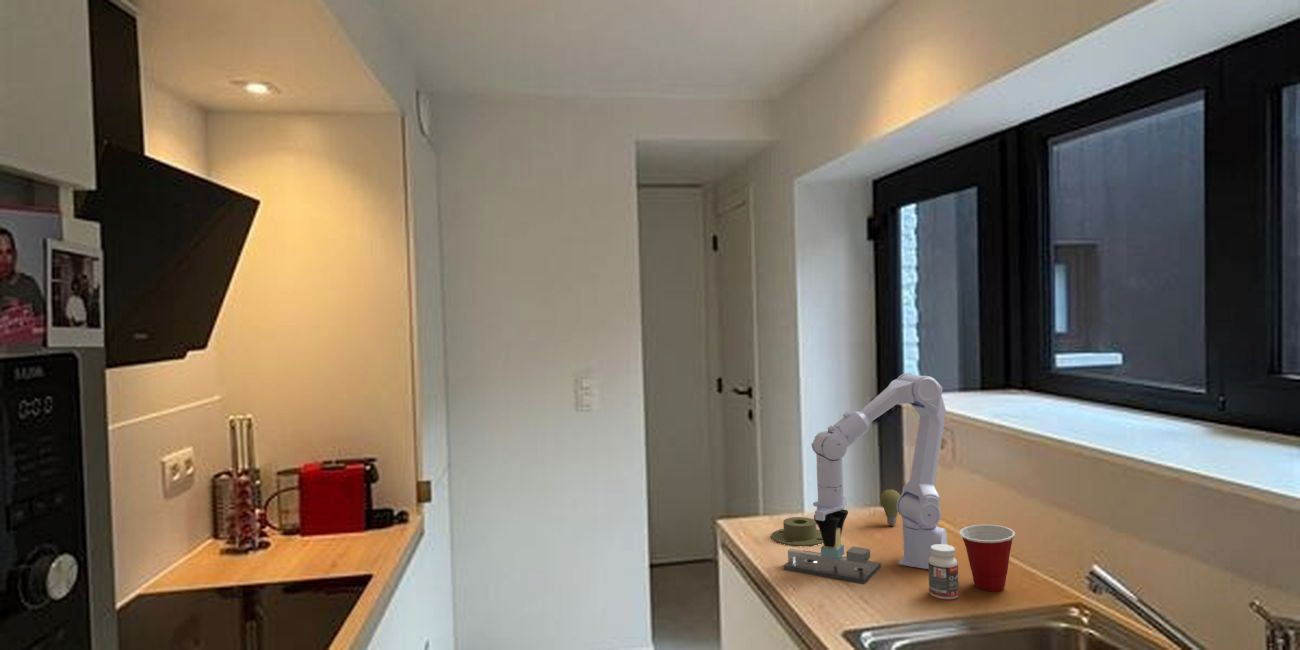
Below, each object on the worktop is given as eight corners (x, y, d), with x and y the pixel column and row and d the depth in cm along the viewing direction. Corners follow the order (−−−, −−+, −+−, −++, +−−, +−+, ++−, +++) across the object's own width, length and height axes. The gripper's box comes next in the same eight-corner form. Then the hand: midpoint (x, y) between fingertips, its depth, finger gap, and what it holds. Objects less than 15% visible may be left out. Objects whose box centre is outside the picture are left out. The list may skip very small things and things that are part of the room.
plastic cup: (951, 579, 159) (949, 524, 159) (998, 575, 160) (997, 521, 159) (977, 598, 148) (975, 539, 148) (1027, 594, 149) (1026, 536, 149)
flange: (760, 524, 191) (811, 533, 181) (788, 510, 202) (838, 519, 192) (760, 541, 191) (812, 552, 181) (789, 527, 202) (839, 536, 193)
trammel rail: (872, 571, 163) (872, 549, 163) (867, 576, 159) (866, 554, 159) (793, 557, 173) (792, 537, 173) (786, 562, 170) (786, 541, 170)
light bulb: (882, 528, 197) (881, 492, 196) (879, 522, 202) (878, 487, 202) (904, 528, 196) (903, 492, 195) (900, 522, 201) (899, 487, 201)
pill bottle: (956, 602, 146) (954, 553, 146) (926, 597, 149) (925, 549, 149) (961, 592, 151) (959, 545, 151) (932, 587, 154) (930, 541, 154)
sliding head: (844, 564, 166) (843, 527, 166) (838, 570, 163) (837, 532, 163) (827, 562, 169) (826, 525, 168) (821, 567, 165) (820, 530, 165)
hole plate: (881, 567, 168) (880, 562, 168) (864, 584, 158) (864, 578, 158) (803, 554, 178) (803, 549, 178) (783, 569, 169) (783, 564, 169)
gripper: (824, 476, 174) (826, 532, 174) (801, 490, 162) (803, 550, 162) (853, 479, 170) (855, 537, 170) (831, 493, 158) (833, 555, 158)
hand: (832, 544), depth 166 cm, fingers closed on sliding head, 3 cm apart
